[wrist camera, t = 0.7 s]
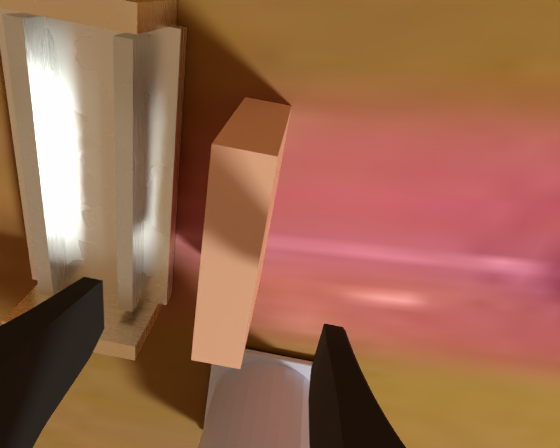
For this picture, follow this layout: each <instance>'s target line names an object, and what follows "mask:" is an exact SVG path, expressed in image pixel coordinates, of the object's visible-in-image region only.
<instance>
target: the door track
mask: <svg viewBox="0 0 560 448" xmlns="http://www.w3.org/2000/svg"><path fill="white" fill-rule="evenodd" d="M176 20H177V0H0V50H1V58H2V65H3V72H4V79H5V86H6V94H7V101H8V108H9V115H10V122H11V130H12V137H13V144H14V151H15V158H16V166H17V173H18V180H19V187H20V194H21V202H22V209H23V216H24V223H25V230H26V238H27V245H28V252H29V259H30V266H31V274H32V279H34V280H37V282H38V284H37V285H36V286H35V287H34V288H33V289H32V290H31V291H30V292H29V293H28V294H27V295H26V296H25V297H24V298H23V299H22V301H21V302H20V303H19V304H18V305H17V306H16V307H15V308H14V309H13V310H12V311H11V312H10V313H9V314H8V315H7V316H6V317H5V318H4V319H3V320H2V325H3V324H5V323H7V322H8V321H10V320H12V319H14V318H16V317H18V316H20V315H21V314H23V313H25V312H27V311H28V310H30V309H32V308H33V307H35V306H37V305H38V304H40V303H42V302H44V301H45V300H47V299H48V298H50V297H52V296H53V295H55V294H57V293H58V292H60V291H61V290H63V289H65V288H66V287H68V286H70V285H71V284H73V283H74V282H76V281H78V280H79V279H81V278H83V277H88V278H93V279H98V280H103V301H104V330H103V332H102V334H101V337H100V339H99V341H98V343H97V345H96V347H95V349H94V351H93V353H99V354H104V355H109V356H114V357H119V358H124V359H130V360H136V358H137V356H138V354H139V352H140V350H141V348H142V346H143V344H144V342H145V340H146V338H147V336H148V334H149V332H150V330H151V329H152V327H153V325H154V323H155V321H156V319H157V317H158V315H159V313H160V311H161V309H162V307H163V305H167V303H168V301H169V299H170V297H171V295H172V284H173V267H174V249H175V232H176V215H177V198H178V181H179V164H180V147H181V130H182V113H183V96H184V79H185V62H186V44H187V27H184V26H178V25H176Z"/></svg>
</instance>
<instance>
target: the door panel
mask: <svg viewBox="0 0 560 448" xmlns="http://www.w3.org/2000/svg"><path fill="white" fill-rule="evenodd" d="M291 107H292V106H290V105H285V104H280V103H275V102H269V101H264V100H259V99H254V98H249V97H245V98H244V100H243V101H242V102H241V104H240V105H239V107H238V108H237V109H236V111H235V112H234V113H233V115H232V116H231V118H230V119H229V120H228V122H227V123H226V125H225V126H224V127H223V129H222V130H221V131H220V133H219V134H218V136H217V137H216V138H215V140H214V141H213V143H212V145H211V155H210V166H209V176H208V187H207V197H206V208H205V218H204V229H203V240H202V250H201V261H200V271H199V282H198V292H197V303H196V314H195V324H194V335H193V345H192V356H191V360H194V361H199V362H205V363H210V364H215V365H220V366H225V367H231V368H236V369H241V364H242V360H243V355H244V351H245V346H246V341H247V337H248V332H249V328H250V323H251V319H252V314H253V310H254V305H255V301H256V296H257V292H258V287H259V282H260V278H261V273H262V267H263V262H264V256H265V250H266V245H267V239H268V234H269V228H270V223H271V217H272V212H273V206H274V201H275V195H276V190H277V184H278V179H279V173H280V168H281V162H282V157H283V151H284V146H285V140H286V135H287V129H288V124H289V118H290V113H291Z"/></svg>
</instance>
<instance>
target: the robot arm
mask: <svg viewBox="0 0 560 448" xmlns="http://www.w3.org/2000/svg"><path fill="white" fill-rule="evenodd" d="M103 330H104V301H103V280H98V279H93V278H88V277H83V278H81V279H79V280H78V281H76V282H74V283H73V284H71V285H70V286H68V287H66V288H65V289H63V290H61V291H60V292H58V293H57V294H55V295H53V296H52V297H50V298H48V299H47V300H45V301H44V302H42V303H40V304H38V305H37V306H35V307H33V308H32V309H30V310H28V311H27V312H25V313H23V314H21V315H20V316H18V317H16V318H14V319H12V320H10V321H8V322H7V323H5V324H3V325H1V326H0V448H33V446H34V444H35V442H36V440H37V438H38V437H39V435H40V433H41V431H42V429H43V428H44V426H45V425H46V423H47V421H48V420H49V418H50V417H51V415H52V414H53V412H54V411H55V409H56V408H57V406H58V405H59V403H60V402H61V400H62V399H63V397H64V396H65V394H66V393H67V391H68V390H69V388H70V387H71V385H72V384H73V382H74V381H75V379H76V378H77V376H78V375H79V373H80V372H81V370H82V369H83V367H84V366H85V364H86V363H87V361H88V360H89V358H90V356H91V355H92V353H93V351H94V349H95V347H96V345H97V343H98V341H99V339H100V337H101V334H102V332H103ZM198 448H406V447H405V446H404V444H403V443H402V441H401V440H400V438H399V437H398V435H397V434H396V432H395V431H394V429H393V428H392V426H391V425H390V423H389V422H388V420H387V418H386V417H385V415H384V413H383V411H382V410H381V408H380V406H379V404H378V403H377V401H376V399H375V397H374V395H373V393H372V391H371V390H370V388H369V386H368V384H367V381H366V379H365V377H364V375H363V373H362V371H361V369H360V367H359V364H358V362H357V360H356V357H355V355H354V353H353V350H352V348H351V345H350V342H349V340H348V337H347V334H346V331H345V330H344V328H343V327H339V326H334V325H329V324H324V326H323V329H322V333H321V336H320V340H319V343H318V347H317V350H316V353H315V357H314V360H313V362H311V361H306V360H301V359H296V358H290V357H285V356H280V355H275V354H270V353H265V352H259V351H254V350H249V349H245V351H244V355H243V360H242V364H241V369H236V368H231V367H225V366H220V365H215V364H212V365H211V373H210V380H209V388H208V396H207V404H206V412H205V419H204V427H203V432H202V436H201V440H200V443H199V447H198Z"/></svg>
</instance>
